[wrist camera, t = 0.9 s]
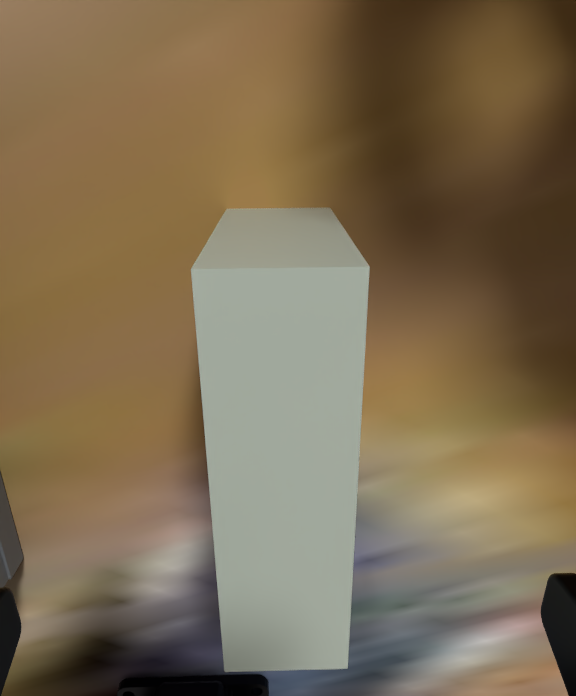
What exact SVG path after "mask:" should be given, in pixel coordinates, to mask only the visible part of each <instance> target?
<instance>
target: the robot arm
mask: <svg viewBox="0 0 576 696" xmlns="http://www.w3.org/2000/svg"><path fill="white" fill-rule="evenodd" d="M541 618H542V623H543V626H544V628H545V631H546V634H547V637H548V640H549V642H550V645H551V648H552V651H553V653H554V656H555V659H556V662H557V664H558V667H559V670H560V673H561V676H562V678H563V681H564V684H565V687H566V689H567V692H568V695H569V696H576V574H575V573H554V574H552V575H551V576H550V577H549V578H548V581H547V586H546V590H545V594H544V598H543V602H542V606H541ZM20 634H21V620H20V617H19V613H18V610H17V606H16V603H15V599H14V596H13V593H12V591H11V590H10V589H9V588H6V587H0V696H1V694H2V690H3V687H4V684H5V681H6V678H7V675H8V672H9V669H10V666H11V663H12V660H13V657H14V654H15V651H16V647H17V644H18V641H19V638H20ZM117 696H269V686H268V680H267V679H266V678H265V677H264V676H261V675H235V676H199V677H162V678H129V679H124V680H123V681H121V683H120V684H119V688H118V692H117Z"/></svg>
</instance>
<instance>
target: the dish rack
mask: <svg viewBox="0 0 576 696" xmlns="http://www.w3.org/2000/svg"><path fill="white" fill-rule="evenodd" d="M22 560H23V554H22V550H21V547H20V543H19V539H18V536H17V532H16V528H15V525H14V521H13V517H12V514H11V510H10V506H9V503H8V499H7V495H6V492H5V488H4V484H3V481H2V477H1V473H0V587H4V586H5V584H6V583H7V581H8V579H12V577H13V575H14V574H15V572H16V570H17V568H18V567H19V565H20V563H21V562H22Z"/></svg>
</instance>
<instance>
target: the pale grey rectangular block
mask: <svg viewBox="0 0 576 696" xmlns="http://www.w3.org/2000/svg"><path fill="white" fill-rule="evenodd" d="M369 269H370V266H369V265H368V264H367V262H366V261H365V259H364V258H363V256H362V255H361V253H360V252H359V250H358V249H357V247H356V246H355V244H354V243H353V241H352V240H351V238H350V237H349V235H348V234H347V232H346V231H345V229H344V228H343V226H342V225H341V223H340V222H339V220H338V219H337V217H336V216H335V214H334V213H333V211H332V210H331V208H257V209H226V211H225V213H224V214H223V216H222V218H221V219H220V221H219V223H218V224H217V226H216V228H215V230H214V231H213V233H212V235H211V236H210V238H209V240H208V241H207V243H206V245H205V246H204V248H203V250H202V251H201V253H200V255H199V256H198V258H197V260H196V262H195V263H194V265H193V267H192V268H191V275H192V287H193V299H194V311H195V323H196V335H197V347H198V359H199V371H200V383H201V395H202V407H203V419H204V431H205V443H206V456H207V468H208V480H209V492H210V504H211V516H212V528H213V540H214V552H215V564H216V576H217V588H218V600H219V612H220V624H221V636H222V648H223V661H224V672H243V671H281V670H318V669H348V652H349V634H350V616H351V597H352V579H353V561H354V543H355V524H356V506H357V488H358V470H359V451H360V433H361V415H362V397H363V379H364V360H365V342H366V324H367V306H368V287H369Z"/></svg>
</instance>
